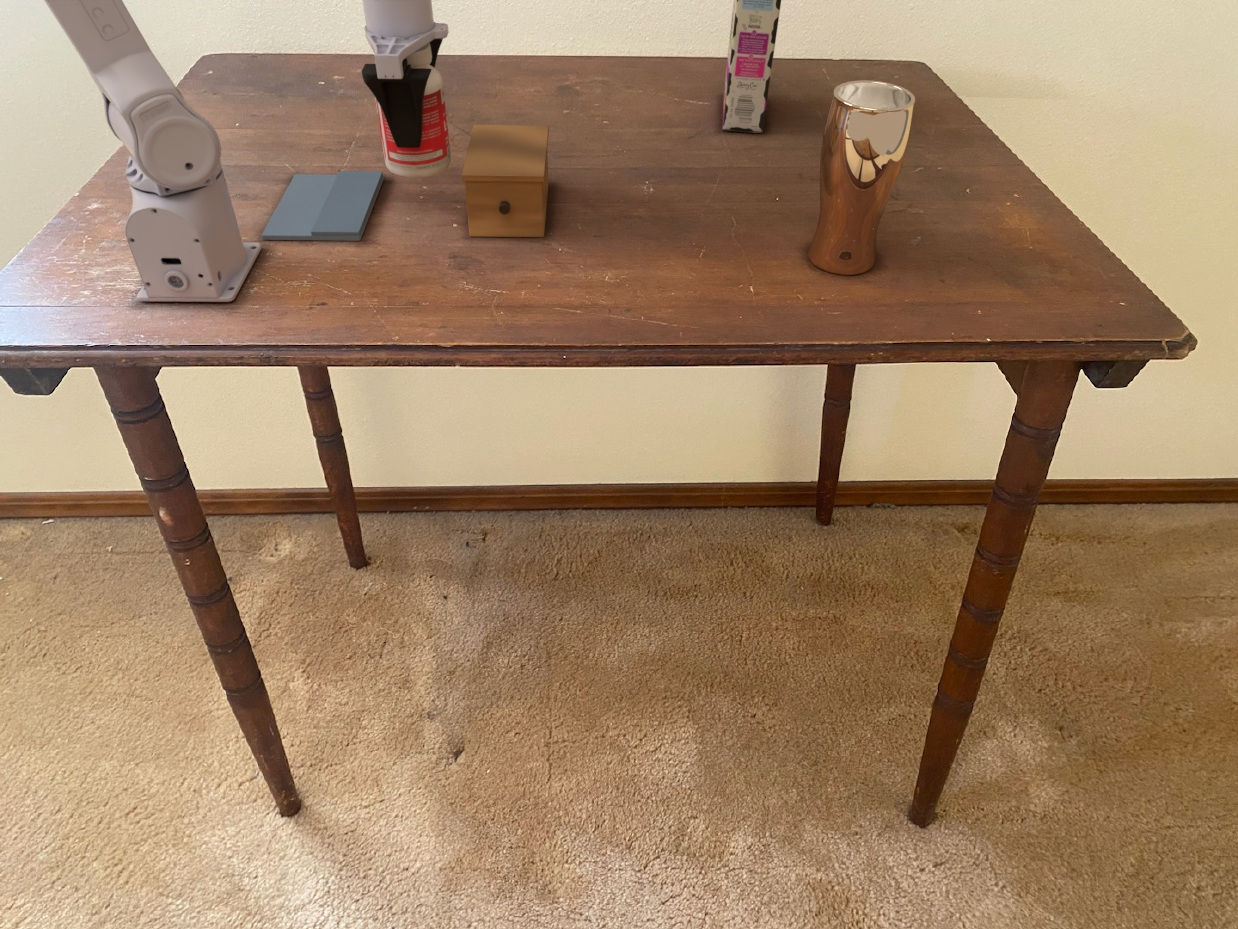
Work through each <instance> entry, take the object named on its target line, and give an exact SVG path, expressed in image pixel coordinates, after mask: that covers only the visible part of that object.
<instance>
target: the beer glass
mask: <svg viewBox="0 0 1238 929" xmlns="http://www.w3.org/2000/svg"><path fill="white" fill-rule="evenodd" d="M915 102H916V96H915V95H914V94H913V93H912V92H911V91H910V90H908V89H907V88H905V87H902V86H900V85H897V84H894V83H891V82H886V81H880V80H870V79H869V80H868V79H867V80H866V79H865V80H862V79H861V80H851V81H846V82H843V83H840V84H838V85H837V86H836V87H834V89H833V93H832V99H831V103H830V107H829V110H828V114H827V118H826V122H825V127H824V131H823V136H822V143H821V150H820V160H819V161H820V162H819V213H818V214H819V216H818V222H817V226H816V229H815V232H814V235H813V237H812V240H811V243H810V246H809V249H808V253H807V254H808V259H809V261H810V262H811V263H812V264H813V265H814V266H815V267H816V268H819V269H820V270H822V271H825V272H827V273H831V274H834V275H835V274H836V275H841V276H855V275H861V274H864V273H866V272H868V271H870V270H871V269H873V267H874V265H875V263H876V259H877V258H876V257H877V256H876V255H877V236H878V229H879V225H880V222H881V219H882V216H883V213H884V212H885V209H886V207H887V203H888V202H889V200H890V197H891V195H892V192H893V190H894V188H895V186H896V183H897V181H898V178H899V176H900V172H901V169H902V167H903V164H904V160H905V156H906V153H907V149H908V144H909V138H910V133H911V128H912V120H913V112H914V106H915Z"/></svg>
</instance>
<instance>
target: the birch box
mask: <svg viewBox="0 0 1238 929" xmlns="http://www.w3.org/2000/svg"><path fill="white" fill-rule="evenodd" d="M549 133H550V126H549V125H536V124H535V125H534V124H533V125H527V124H526V125H525V124H473V126H472V129H471V134H470V138H469V142H468V145H467V151H466V155H465V158H464V163H463V166H462V171H461V175H460V178H461V181H462V182H464V192H465V201H466V203H465V204H466V212H467V224H468V233H469V237H476V238H477V237H479V238H480V237H481V238H482V237H483V238H484V237H485V238H486V237H487V238H489V237H490V238H544V237H545V230H546V219H547V207H548V196H549V195H548V193H549V164H548V159H549V158H548V145H549V144H548V143H549Z"/></svg>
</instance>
